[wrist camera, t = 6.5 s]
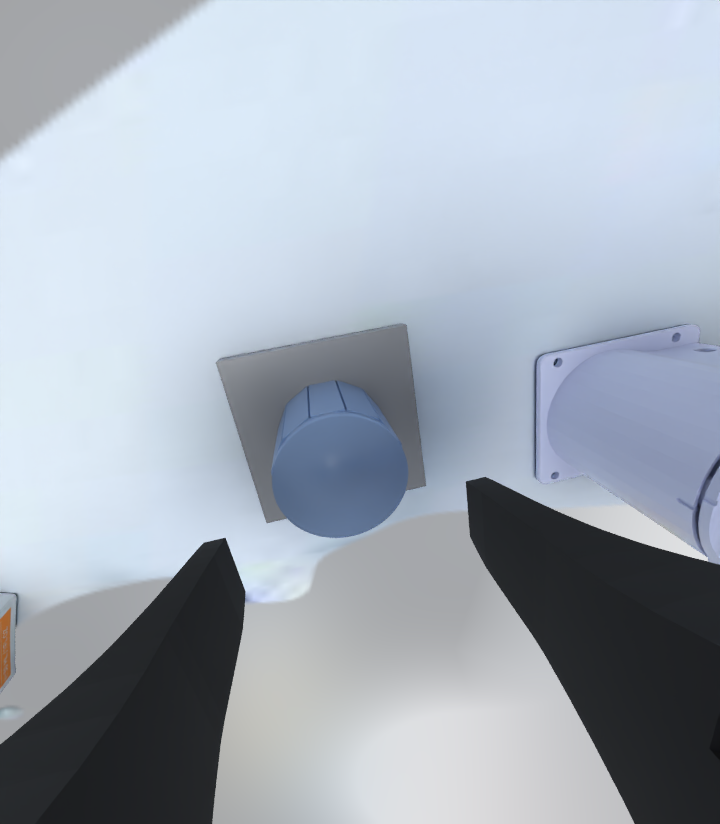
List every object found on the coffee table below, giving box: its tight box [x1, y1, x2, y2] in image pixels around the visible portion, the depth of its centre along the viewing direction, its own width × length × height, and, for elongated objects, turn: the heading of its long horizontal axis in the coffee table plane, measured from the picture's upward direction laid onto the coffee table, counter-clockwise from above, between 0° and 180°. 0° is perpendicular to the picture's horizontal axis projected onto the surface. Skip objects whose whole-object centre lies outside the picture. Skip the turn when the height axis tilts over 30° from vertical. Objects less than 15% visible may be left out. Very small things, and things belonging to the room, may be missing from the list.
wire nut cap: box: [271, 380, 408, 538], centre depth 16 cm, size 5×5×5 cm
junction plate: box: [216, 324, 426, 523], centre depth 17 cm, size 9×9×4 cm
